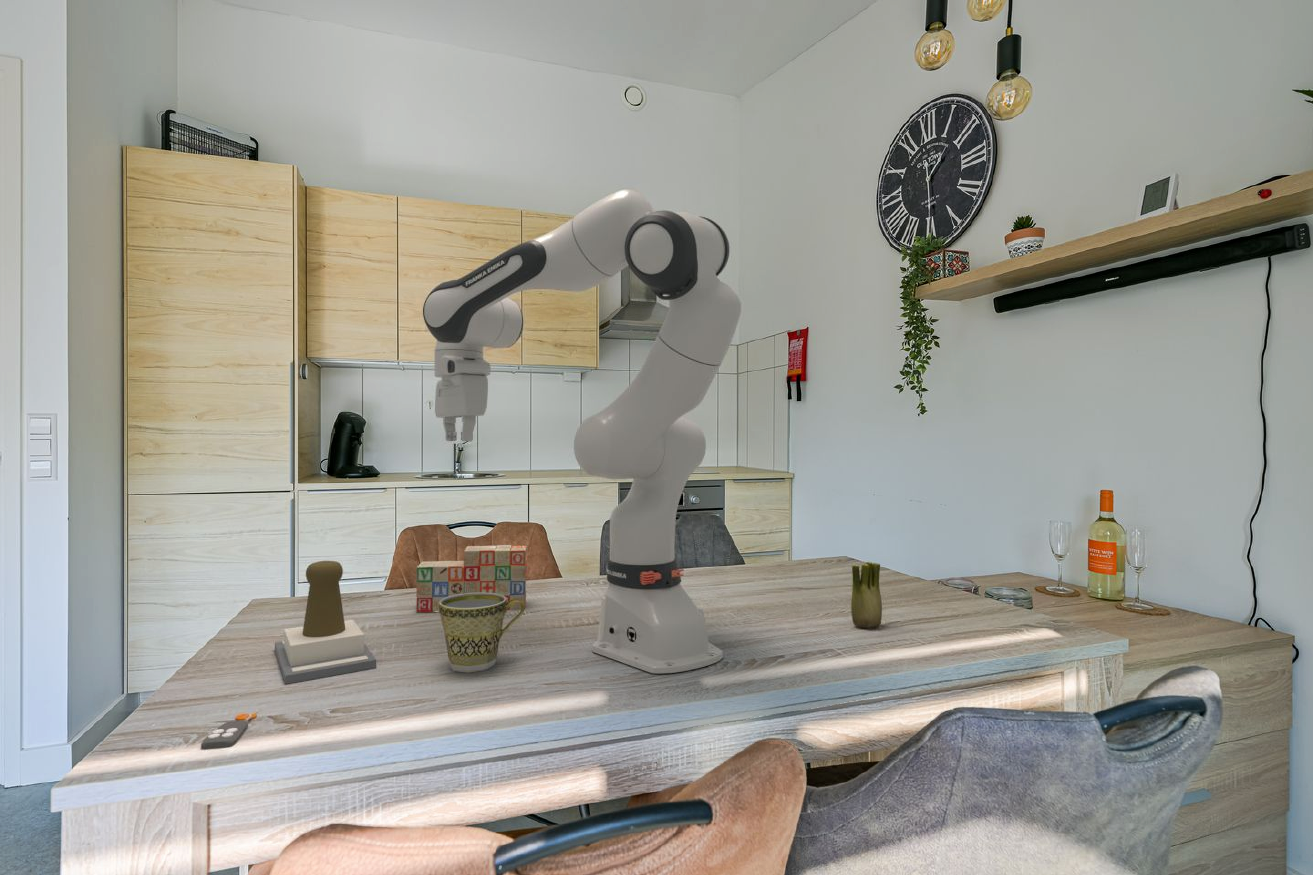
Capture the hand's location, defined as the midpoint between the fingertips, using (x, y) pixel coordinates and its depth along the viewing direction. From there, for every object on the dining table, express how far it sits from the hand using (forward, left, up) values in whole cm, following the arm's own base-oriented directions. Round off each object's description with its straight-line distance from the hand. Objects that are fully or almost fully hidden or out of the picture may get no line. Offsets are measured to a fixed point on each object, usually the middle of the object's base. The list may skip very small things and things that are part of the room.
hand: (458, 441), depth 124 cm
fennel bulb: (-45, -62, -34) cm, 84 cm away
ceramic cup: (-25, +4, -34) cm, 43 cm away
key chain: (-29, +36, -35) cm, 58 cm away
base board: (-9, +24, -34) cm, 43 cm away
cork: (-9, +24, -30) cm, 39 cm away
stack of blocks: (+9, -6, -34) cm, 36 cm away
